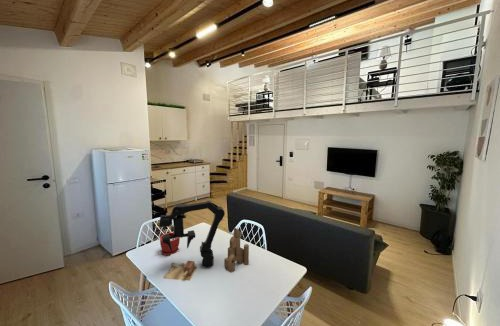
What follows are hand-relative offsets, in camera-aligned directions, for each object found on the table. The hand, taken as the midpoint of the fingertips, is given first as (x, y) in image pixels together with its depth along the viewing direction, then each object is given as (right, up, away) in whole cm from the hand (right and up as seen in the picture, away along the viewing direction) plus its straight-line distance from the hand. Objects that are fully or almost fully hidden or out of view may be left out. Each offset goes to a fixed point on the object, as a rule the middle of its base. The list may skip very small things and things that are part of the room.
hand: (179, 249), depth 136 cm
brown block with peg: (+6, -13, -5) cm, 15 cm away
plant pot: (-14, -11, +22) cm, 29 cm away
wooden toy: (+35, -13, +7) cm, 38 cm away
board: (+2, -14, -3) cm, 14 cm away
